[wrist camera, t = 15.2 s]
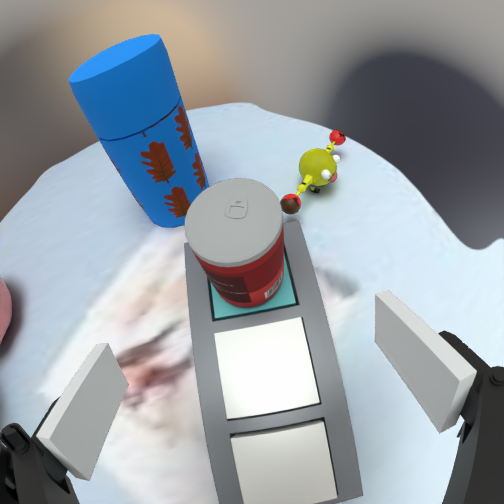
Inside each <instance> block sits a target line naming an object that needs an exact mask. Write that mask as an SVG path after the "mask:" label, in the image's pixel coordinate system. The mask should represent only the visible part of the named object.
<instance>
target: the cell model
mask: <svg viewBox="0 0 504 504" xmlns="http://www.w3.org/2000/svg"><path fill="white" fill-rule="evenodd" d="M11 319H12V301H11V295H10V292H9V290H8V288H7V285H6V283H5V282H4V280H3V279H2V277H1V276H0V344H1V341H2V339H3V337H4V335H5V333H6V330H7V328H8V326H9V325H10V322H11Z"/></svg>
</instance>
